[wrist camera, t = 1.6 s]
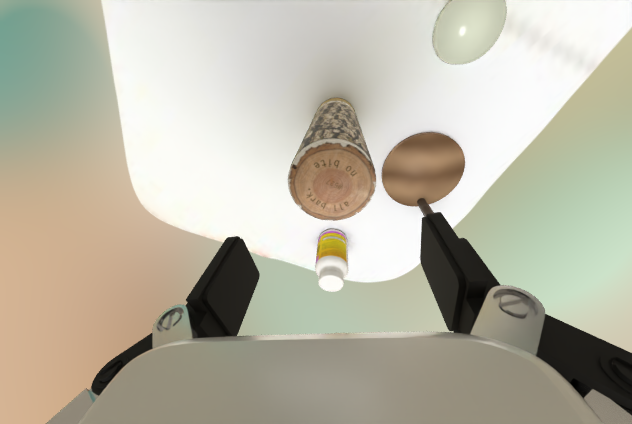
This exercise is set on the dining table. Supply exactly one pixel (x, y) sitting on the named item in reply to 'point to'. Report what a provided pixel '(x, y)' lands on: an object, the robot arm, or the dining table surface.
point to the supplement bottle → (331, 260)
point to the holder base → (423, 170)
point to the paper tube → (332, 165)
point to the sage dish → (468, 29)
